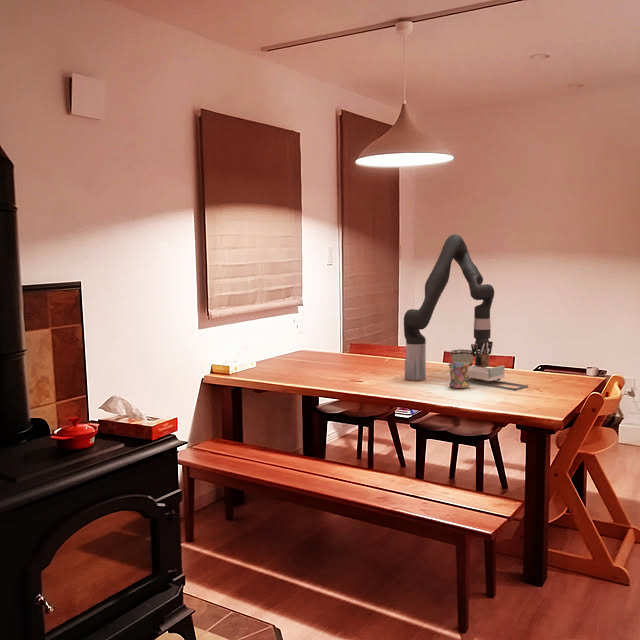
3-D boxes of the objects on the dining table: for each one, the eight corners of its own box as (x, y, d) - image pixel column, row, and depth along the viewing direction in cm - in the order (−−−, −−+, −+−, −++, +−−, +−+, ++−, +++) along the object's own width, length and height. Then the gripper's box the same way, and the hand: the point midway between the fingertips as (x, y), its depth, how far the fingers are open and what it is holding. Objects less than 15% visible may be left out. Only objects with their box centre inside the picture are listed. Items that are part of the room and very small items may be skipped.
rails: (515, 390, 277) (515, 388, 277) (455, 380, 302) (455, 378, 302) (528, 387, 284) (528, 385, 284) (468, 377, 308) (468, 375, 308)
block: (483, 367, 293) (483, 354, 292) (474, 366, 296) (475, 353, 296) (489, 366, 296) (489, 353, 295) (480, 365, 299) (480, 352, 299)
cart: (490, 384, 286) (490, 368, 286) (459, 378, 299) (459, 364, 299) (504, 380, 294) (504, 365, 293) (473, 375, 306) (473, 361, 306)
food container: (473, 368, 331) (473, 349, 330) (474, 370, 325) (474, 351, 324) (448, 368, 332) (448, 349, 331) (450, 370, 326) (450, 351, 325)
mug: (455, 384, 293) (455, 361, 292) (473, 386, 286) (473, 363, 285) (440, 388, 284) (440, 364, 283) (459, 391, 278) (459, 367, 276)
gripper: (484, 325, 302) (484, 361, 304) (465, 328, 293) (465, 365, 294) (498, 327, 296) (497, 363, 298) (479, 330, 287) (479, 367, 289)
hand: (481, 364), depth 296 cm, fingers closed on block, 4 cm apart
